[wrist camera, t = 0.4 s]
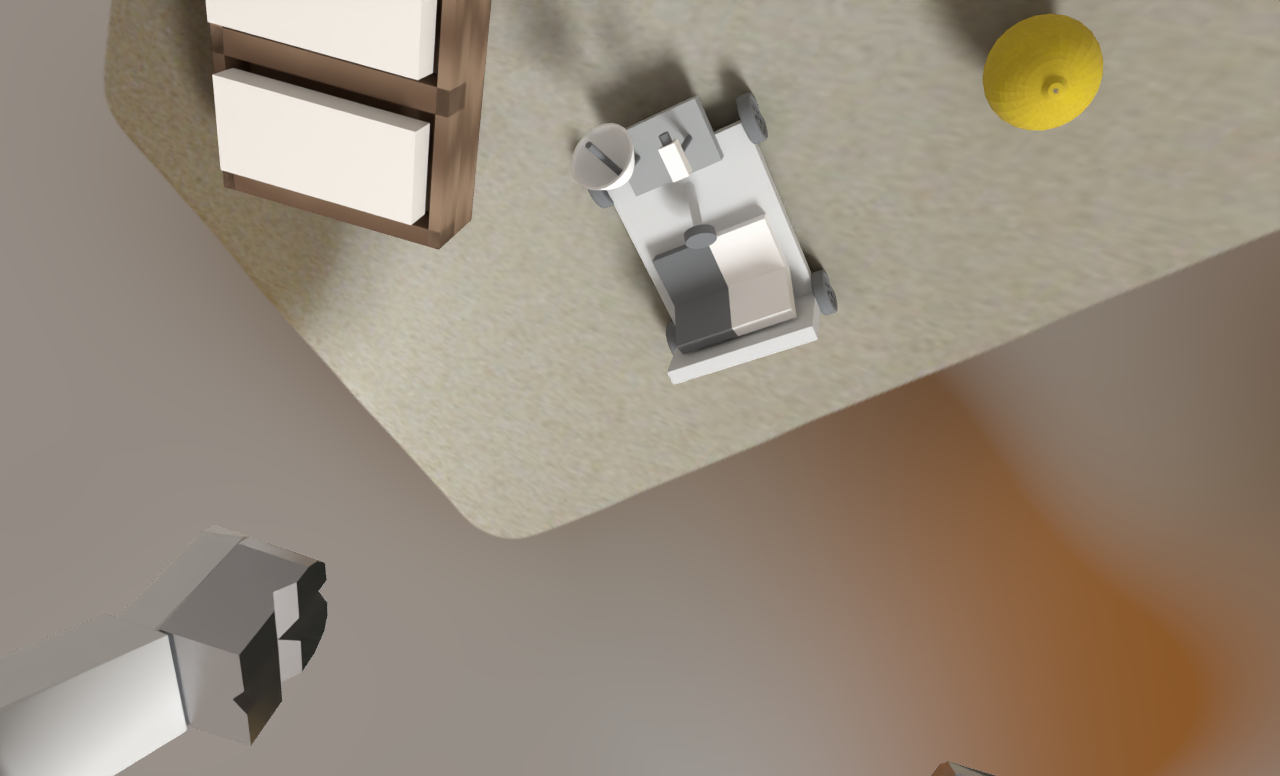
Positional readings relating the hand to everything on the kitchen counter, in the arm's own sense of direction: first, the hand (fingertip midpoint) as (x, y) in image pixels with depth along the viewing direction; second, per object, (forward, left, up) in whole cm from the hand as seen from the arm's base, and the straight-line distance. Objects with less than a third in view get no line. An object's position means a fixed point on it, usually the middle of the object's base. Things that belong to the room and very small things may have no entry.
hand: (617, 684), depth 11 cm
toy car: (+12, -3, -46) cm, 48 cm away
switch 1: (+3, -27, -40) cm, 49 cm away
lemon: (-2, +12, -46) cm, 47 cm away
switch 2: (+12, -27, -40) cm, 50 cm away
